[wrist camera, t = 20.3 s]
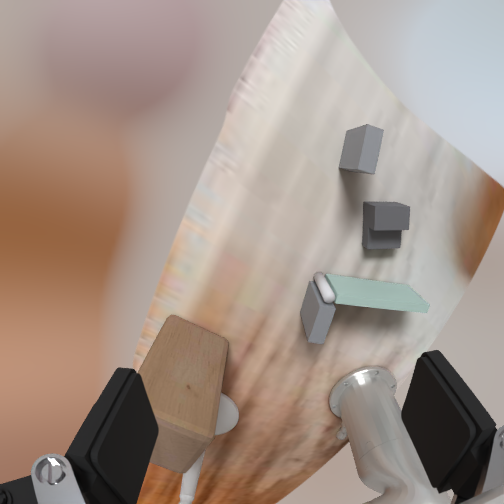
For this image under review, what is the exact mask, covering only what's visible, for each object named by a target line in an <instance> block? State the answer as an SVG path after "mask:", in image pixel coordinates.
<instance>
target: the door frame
mask: <svg viewBox="0 0 504 504" xmlns="http://www.w3.org/2000/svg"><path fill="white" fill-rule="evenodd" d="M383 131H384V130H383V129H380V128H377V127H374V126H371V125H368V124H366V125H363V126H360V127H357V128H354V129H351V130H348V131H347V132H346V137H345V141H344V146H343V151H342V155H341V160H340V164H339V168H342V169H345V170H349V171H352V172H360V173H368V174H375V170H376V165H377V161H378V156H379V151H380V146H381V141H382V136H383ZM335 310H336V308H335V306H334V304H333V302H332V303H326V302H325V301H324V299H323V297H322V295H321V293H320V290H319V288H318V286H317V284H316V282H313V281H309V284H308V288H307V291H306V295H305V298H304V301H303V305H302V308H301V311H300V314H301V317H302V321H303V325H304V329H305V333H306V336H307V340H308V342H311V343H318V344H323V343H324V341H325V338H326V335H327V333H328V330H329V327H330V324H331V322H332V319H333V316H334V313H335Z"/></svg>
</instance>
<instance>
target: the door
mask: <svg viewBox="0 0 504 504" xmlns="http://www.w3.org/2000/svg"><path fill="white" fill-rule="evenodd" d="M314 280H315V282H316V284H317V286H318V288H319V290H320V293H321V295H322V297H323V299H324V301H325V302H326V303H332V302H333V301H334V302H335V303H337V304H345V305H354V306H362V307H371V308H380V309H390V310H400V311H410V312H421V313H427V312H428V309H429V306H430V305H429V304H428V303H427V302H426V301H425V300H424V299H423V298H422V297H421V296H420V295H419V294H418V293H417V292H415V291H414V290H413V289H412V288H411V287H410V286H409V285H403V284H395V283H388V282H381V281H374V280H367V279H360V278H353V277H346V276H340V275H333V274H326V275H325V277H324V275H323V273H322V272H317V273H315V274H314Z"/></svg>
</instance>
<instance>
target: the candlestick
mask: <svg viewBox="0 0 504 504" xmlns="http://www.w3.org/2000/svg"><path fill="white" fill-rule="evenodd" d="M238 419H239V411H238V408H237V406H236V404H235V403H234V402H233V401H232V400H231V399H230V398H229V397H228V396H226V395H225V394H223V393H221V397H220V403H219V410H218V417H217V423H216V430H215V435H220V434H223V433H226V432H228V431H230V430H231V429H233V428H234V427H235V425H236V424H237V422H238ZM205 450H206V449H205ZM204 454H205V451H204V452H203V453H202V454H201V456H200V457H199V458H198V459H197V461H196V462H195V463H194V464H193V465H192V467H191V468H190V469H189V470H188V471H187V472H186V473H183V478H182V485H181V492H180V495H179V497H180V499H181V501H180V503H179V504H191V503H192V501H193V500H194V495H195V491H196V487H197V483H198V479H199V475H200V471H201V466H202V462H203V458H204Z"/></svg>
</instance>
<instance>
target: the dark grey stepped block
mask: <svg viewBox="0 0 504 504" xmlns="http://www.w3.org/2000/svg"><path fill="white" fill-rule="evenodd" d="M409 217H410V207H409V206H407V205H404V204H401V203H397V202H364V206H363V237H362V245H363V246H364V247H365V248H366V249H389V248H400V245H401V232H402V230H409Z"/></svg>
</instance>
